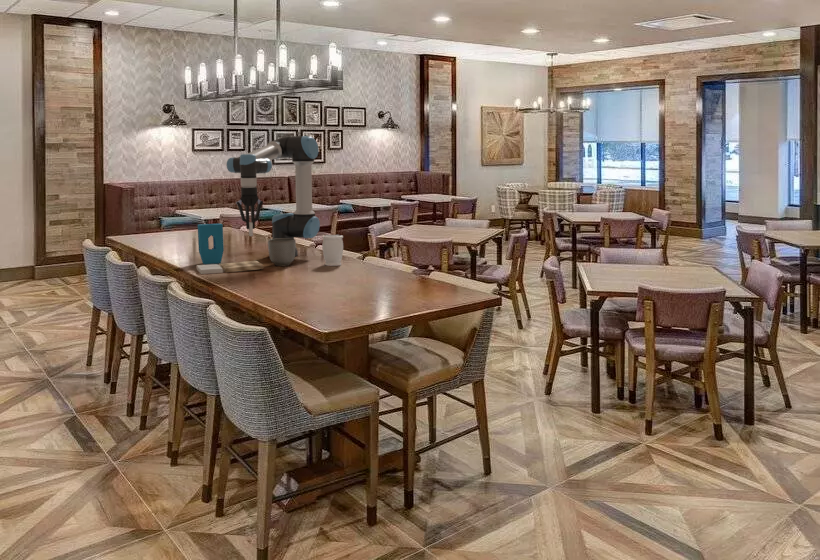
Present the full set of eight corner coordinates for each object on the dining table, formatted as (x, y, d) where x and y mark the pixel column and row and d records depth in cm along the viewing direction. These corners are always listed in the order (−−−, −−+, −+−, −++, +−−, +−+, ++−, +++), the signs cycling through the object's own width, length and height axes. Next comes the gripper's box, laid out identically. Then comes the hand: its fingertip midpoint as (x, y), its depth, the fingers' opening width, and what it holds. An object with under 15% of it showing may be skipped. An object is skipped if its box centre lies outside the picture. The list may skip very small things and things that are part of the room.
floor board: (218, 268, 379) (218, 263, 378) (224, 272, 365) (223, 268, 365) (196, 269, 374) (196, 265, 374) (201, 274, 361) (201, 269, 360)
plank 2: (260, 266, 378) (260, 262, 378) (263, 268, 372) (262, 264, 372) (223, 270, 371) (223, 266, 371) (225, 272, 365) (225, 268, 365)
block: (201, 264, 389) (199, 225, 386) (198, 263, 394) (197, 224, 390) (224, 263, 395) (223, 224, 391) (222, 261, 399) (220, 223, 396)
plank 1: (256, 264, 386) (256, 260, 385) (259, 266, 380) (259, 262, 380) (220, 267, 379) (220, 263, 378) (222, 269, 373) (222, 265, 373)
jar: (346, 264, 393) (346, 234, 390) (338, 267, 383) (337, 237, 381) (327, 262, 396) (327, 234, 394) (319, 265, 387) (318, 236, 384)
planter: (273, 268, 379) (272, 242, 377) (264, 264, 391) (264, 239, 389) (300, 266, 386) (299, 240, 383) (290, 262, 398) (290, 237, 395)
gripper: (260, 186, 372) (262, 234, 377) (233, 186, 367) (235, 235, 372) (264, 186, 365) (266, 236, 370) (236, 187, 360) (238, 237, 365)
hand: (250, 235), depth 371 cm, fingers closed
